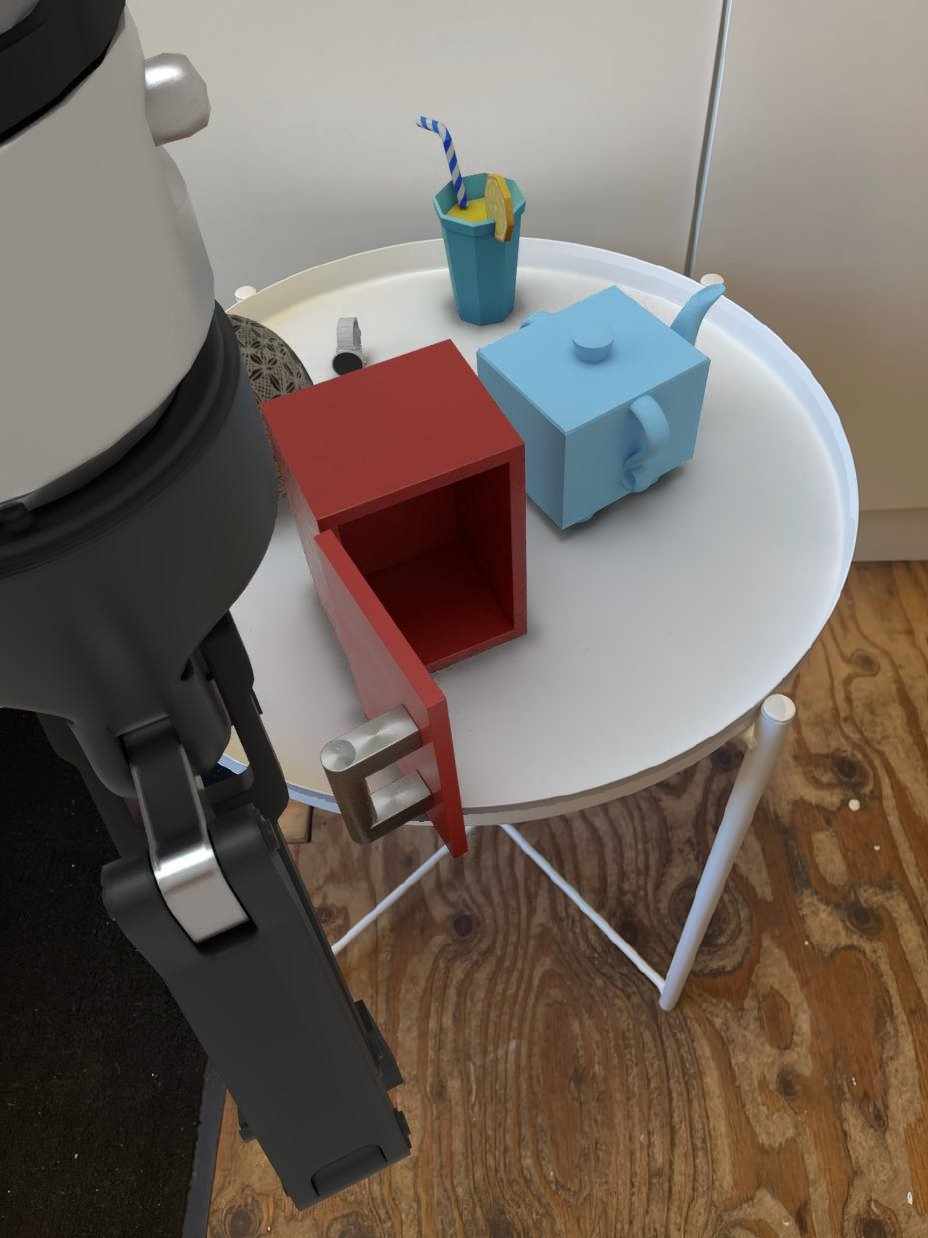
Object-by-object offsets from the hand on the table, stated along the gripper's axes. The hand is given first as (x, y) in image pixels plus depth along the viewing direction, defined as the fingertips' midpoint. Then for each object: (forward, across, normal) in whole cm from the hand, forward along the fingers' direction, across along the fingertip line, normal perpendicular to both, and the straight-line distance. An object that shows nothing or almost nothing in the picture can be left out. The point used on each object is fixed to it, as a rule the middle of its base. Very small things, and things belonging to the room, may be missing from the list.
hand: (282, 884), depth 31 cm
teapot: (+25, +33, -33) cm, 53 cm away
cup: (+25, +56, -32) cm, 69 cm away
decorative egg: (+25, +43, -7) cm, 50 cm away
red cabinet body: (+25, +26, -13) cm, 38 cm away
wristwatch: (+25, +52, -18) cm, 60 cm away
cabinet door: (+25, +14, -5) cm, 29 cm away
